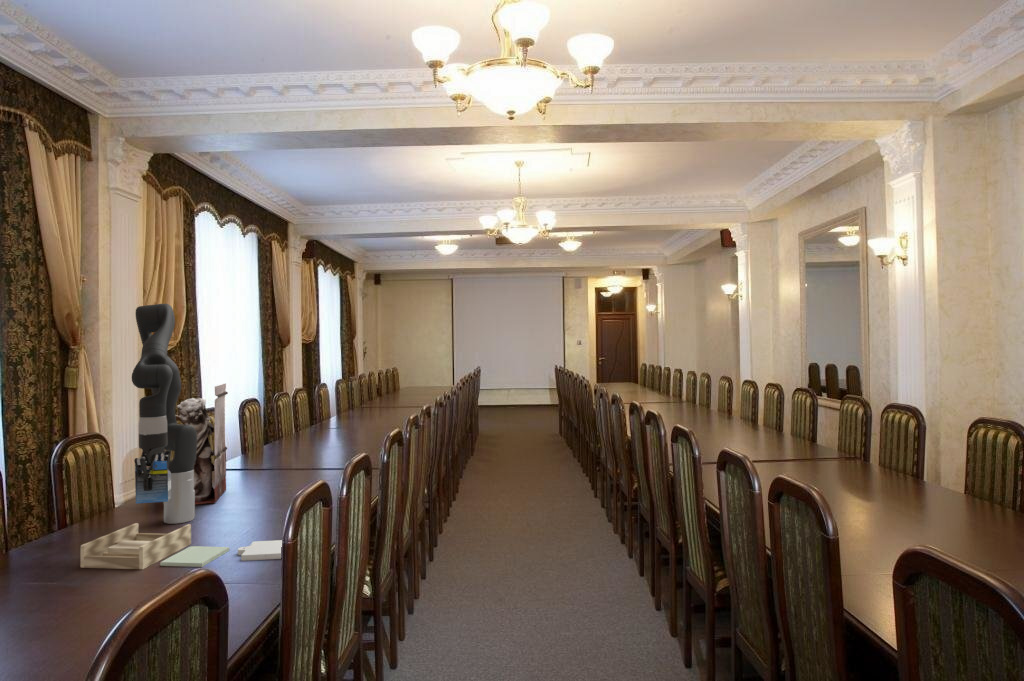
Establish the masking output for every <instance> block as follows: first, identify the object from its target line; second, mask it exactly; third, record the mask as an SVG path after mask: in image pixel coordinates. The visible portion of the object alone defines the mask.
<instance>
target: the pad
mask: <svg viewBox="0 0 1024 681" xmlns="http://www.w3.org/2000/svg"><path fill="white" fill-rule="evenodd" d="M229 551H230V546H203V545H202V546H199V545H198V546H196V545H193V546H192V545H189V546H187V547H185V549H184V548H183V549H182V550H180V551H178V552H176V553H174V554H172V555H170V556H168V557H166V558H164V560H161V561H160V562H159V563H160V566H161V567H186V568H187V567H192V568H193V567H194V568H195V567H196V568H203V567H204V566H206V565H208V564H210V563H211V562H213V561H214V560H216V559H218V558H219V557H221V556H223V555H224V554H226V553H228V552H229Z"/></svg>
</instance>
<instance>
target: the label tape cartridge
mask: <svg viewBox="0 0 1024 681" xmlns="http://www.w3.org/2000/svg"><path fill="white" fill-rule="evenodd" d="M146 467H148V466H147V465H146ZM134 470H135V471H134V480H135V482H134V483H135V484H134V487H135V504H136V505H138V504H149V503H151V504H153V503H164V502H167V501H169V500H170V499H171V472H170V471H169V470H168V469H167V461H156V467H155V470H153V473H152V477H151V478H152V490H151V491H144V488H143V478H141V477H138V476H137V471H136V466H135V465H134ZM147 472H148V473H149V470H147ZM141 473H142V470H141Z"/></svg>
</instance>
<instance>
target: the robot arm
mask: <svg viewBox="0 0 1024 681" xmlns="http://www.w3.org/2000/svg"><path fill="white" fill-rule="evenodd" d="M135 320H136V321H135V322H136V326H137V329H138V333H139V336H140V340H141V343H142V348H141V354H140V359H139V361H138V362H137V363H136V365H135V366H134V368H133V370H132V374H131V382H132V384H133V385H134V387H136V388H138V389H151V393H152V395H147V396H143V397H142V398H140V399H139V404H138V407H139V410H138V412H139V415H138V416H139V419H138V448H139V449H141V450H142V453H141V456H140V457H136V458H134V459H133V461H134V467H135V466H136V471H137V476H138V477H141V478H143V488H144V491H151V490H152V478H151V477H152V473H153V470H155V467H156V461H167V469H168V470H169V471H170V472H171V499H170V500H169V501H167V502H163V523H164V524H171V525H173V524H174V525H175V524H182V523H188V522H190V521H193V520H194V519H195V517H196V513H195V512H196V509H195V508H196V505H195V490H194V464H195V461H196V452H197V433H196V430H195V428H194V427H193V426H191V425H186V424H185V423H183V424H179V423H178V420H177V416H176V406H177V402H178V400H179V396H180V394H181V391H182V381H181V375H180V370H179V367H178V365H177V363H175V361H174V360H172V359H171V357H170V356H168V348H169V345H170V342H171V338H172V336H173V333H174V329H175V325H176V318H175V312H174V309H173V307H172V305H170V304H169V303H156V304H149V305H148V304H145V305H139V306H137V307H136V309H135ZM152 333H153V334H152ZM172 452H174V453H173V458H172V459H171V456H172ZM146 465H147V466H146ZM141 470H142V473H141ZM147 470H149V473H148V472H147Z"/></svg>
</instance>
